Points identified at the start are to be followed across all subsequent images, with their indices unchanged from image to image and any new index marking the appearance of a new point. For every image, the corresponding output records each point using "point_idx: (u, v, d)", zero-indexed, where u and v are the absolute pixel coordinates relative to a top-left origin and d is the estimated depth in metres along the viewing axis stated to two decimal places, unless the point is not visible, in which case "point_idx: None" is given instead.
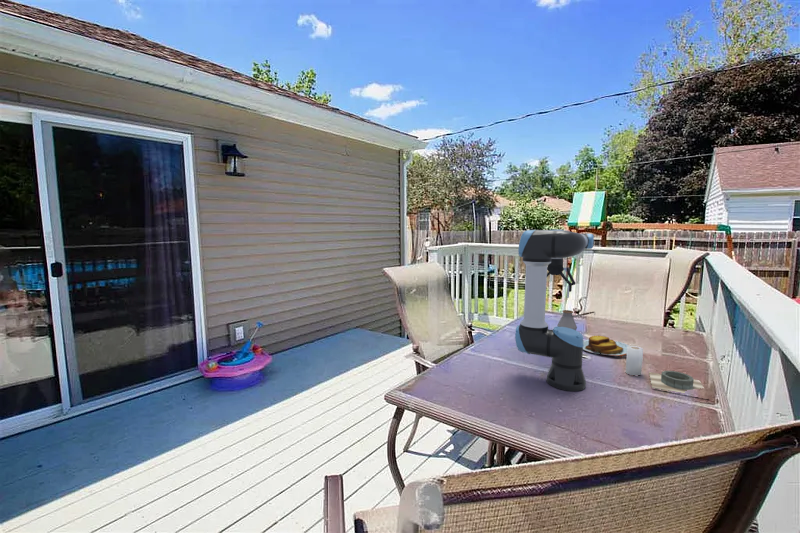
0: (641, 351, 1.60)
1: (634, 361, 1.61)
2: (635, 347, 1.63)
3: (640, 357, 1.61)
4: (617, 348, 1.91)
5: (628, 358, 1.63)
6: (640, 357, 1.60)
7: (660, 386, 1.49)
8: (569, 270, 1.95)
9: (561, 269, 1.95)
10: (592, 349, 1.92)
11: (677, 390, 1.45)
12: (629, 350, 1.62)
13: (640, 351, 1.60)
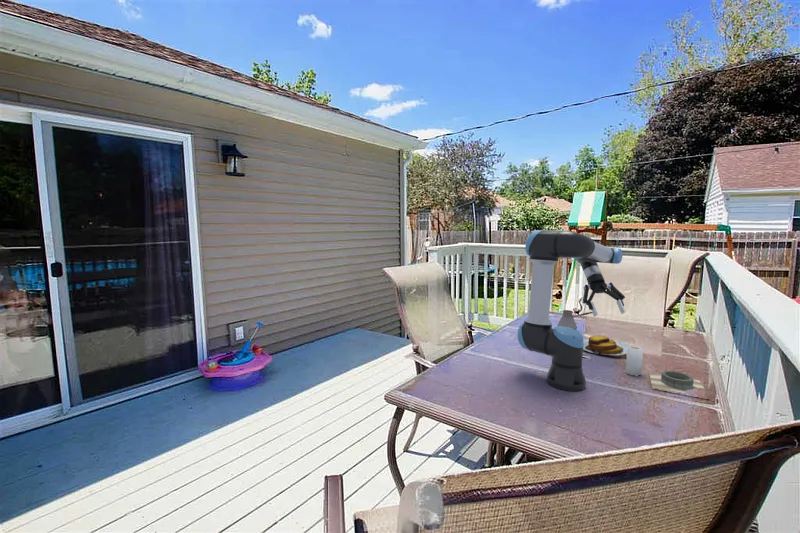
0: (641, 351, 1.60)
1: (634, 361, 1.61)
2: (635, 347, 1.63)
3: (640, 357, 1.61)
4: (616, 348, 1.91)
5: (628, 358, 1.63)
6: (640, 357, 1.60)
7: (660, 386, 1.49)
8: None
9: (605, 285, 1.84)
10: (592, 349, 1.92)
11: (677, 390, 1.45)
12: (629, 350, 1.62)
13: (640, 351, 1.60)
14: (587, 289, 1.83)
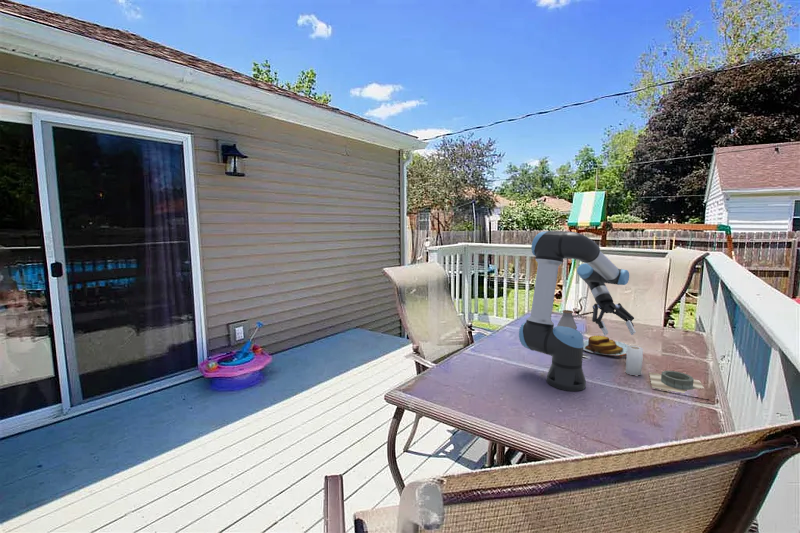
0: (641, 351, 1.60)
1: (634, 361, 1.61)
2: (635, 347, 1.63)
3: (640, 357, 1.61)
4: (616, 348, 1.91)
5: (628, 358, 1.63)
6: (640, 357, 1.60)
7: (660, 386, 1.49)
8: None
9: (614, 305, 1.82)
10: (592, 349, 1.92)
11: (677, 390, 1.45)
12: (629, 350, 1.62)
13: (640, 351, 1.60)
14: (596, 308, 1.80)
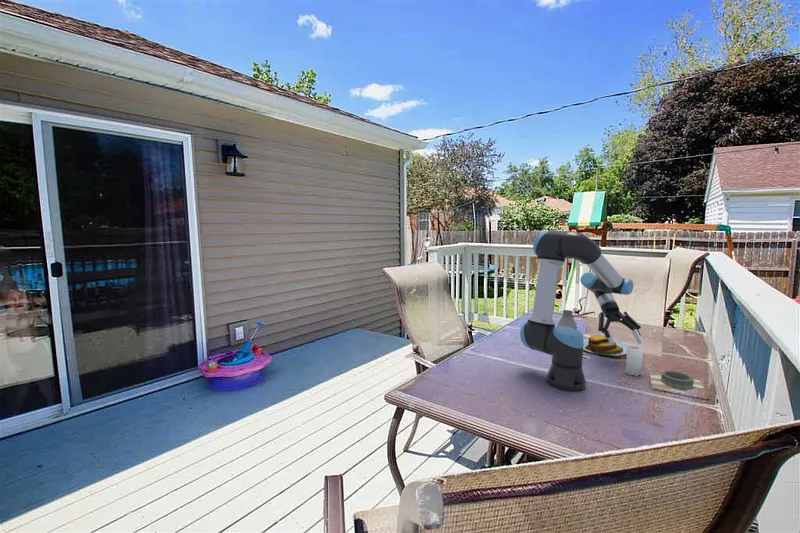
0: (641, 351, 1.60)
1: (634, 361, 1.61)
2: (635, 347, 1.63)
3: (640, 357, 1.61)
4: (616, 348, 1.91)
5: (628, 358, 1.63)
6: (640, 357, 1.60)
7: (660, 386, 1.49)
8: None
9: (620, 313, 1.79)
10: (592, 349, 1.92)
11: (677, 390, 1.45)
12: (629, 350, 1.62)
13: (640, 351, 1.60)
14: (603, 317, 1.77)
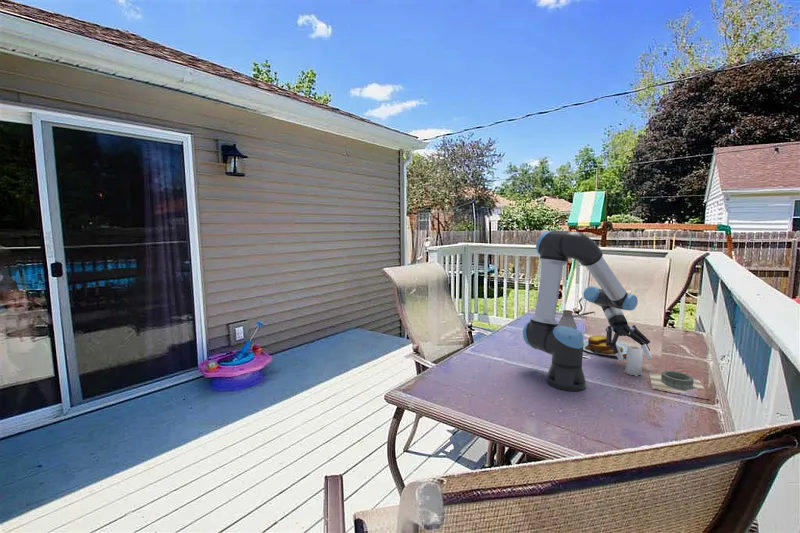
0: (641, 351, 1.60)
1: (634, 361, 1.61)
2: (635, 347, 1.63)
3: (640, 357, 1.61)
4: None
5: (628, 358, 1.63)
6: (640, 357, 1.60)
7: (660, 386, 1.49)
8: None
9: (628, 327, 1.72)
10: (592, 349, 1.92)
11: (677, 390, 1.45)
12: (629, 350, 1.62)
13: (640, 351, 1.60)
14: (610, 331, 1.71)
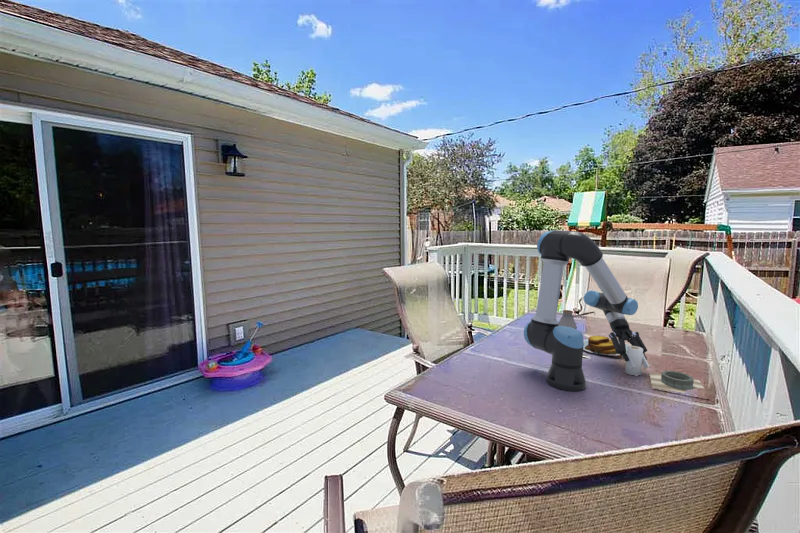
0: (641, 351, 1.60)
1: (634, 361, 1.61)
2: (635, 347, 1.63)
3: (640, 357, 1.61)
4: None
5: None
6: (640, 357, 1.60)
7: (660, 386, 1.49)
8: None
9: (630, 331, 1.70)
10: (592, 349, 1.92)
11: (677, 390, 1.45)
12: (629, 350, 1.62)
13: (640, 351, 1.60)
14: (615, 337, 1.68)
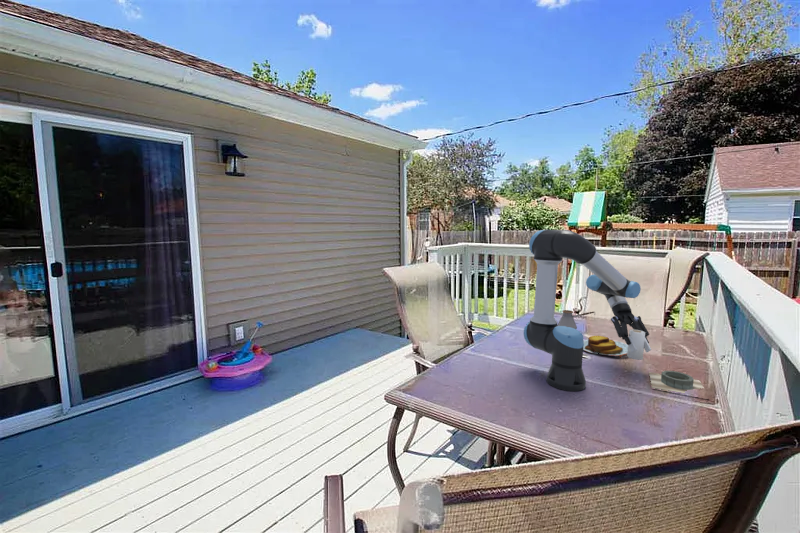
0: (643, 334, 1.60)
1: (636, 344, 1.60)
2: (637, 331, 1.63)
3: (642, 340, 1.60)
4: (616, 348, 1.91)
5: None
6: (642, 340, 1.60)
7: (660, 386, 1.49)
8: None
9: (632, 316, 1.70)
10: (591, 349, 1.92)
11: (677, 390, 1.45)
12: (631, 333, 1.62)
13: (642, 334, 1.60)
14: (617, 321, 1.67)
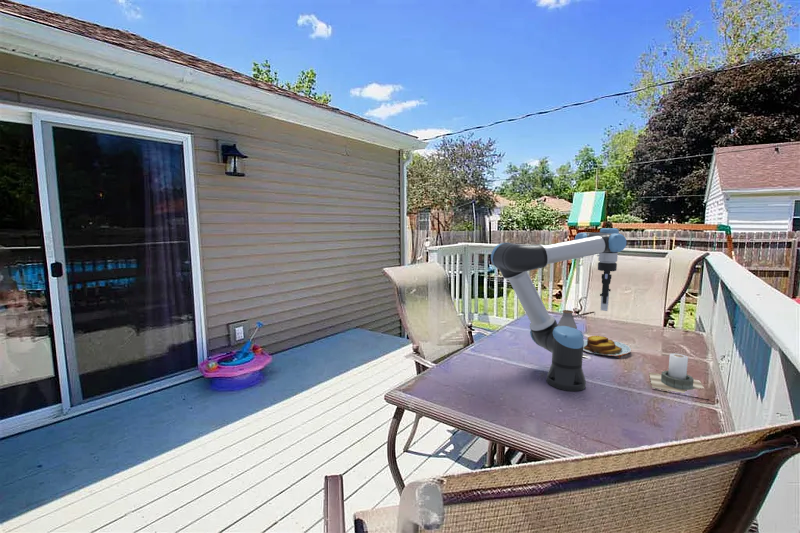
0: (686, 359, 1.48)
1: (678, 370, 1.48)
2: (678, 355, 1.51)
3: (685, 366, 1.48)
4: (615, 348, 1.91)
5: (671, 367, 1.50)
6: (685, 366, 1.48)
7: (660, 386, 1.49)
8: None
9: None
10: (591, 349, 1.92)
11: (677, 390, 1.45)
12: (672, 358, 1.50)
13: (685, 359, 1.47)
14: (609, 280, 1.61)
